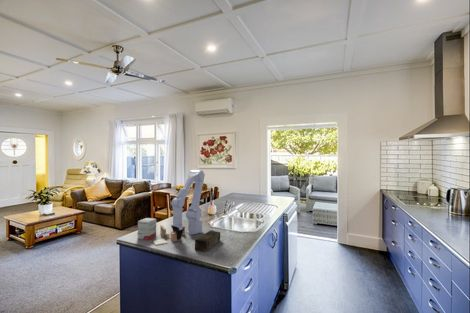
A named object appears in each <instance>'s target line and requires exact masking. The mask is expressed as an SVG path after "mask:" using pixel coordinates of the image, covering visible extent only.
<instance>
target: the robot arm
mask: <svg viewBox="0 0 470 313" xmlns="http://www.w3.org/2000/svg"><path fill="white" fill-rule="evenodd" d="M205 175H206V174H205V172H204V171H203V170H202V169H201V170H198V169H191V170H189V172H188V173H187V176H188V178H187V179H186V181H185V183H184V186H183V187H182V188H181V187H180V189H179V191H178V193H176V194H177V195H176V196H175V197H174V198H173V199H172V200H171V203H170V205H171V207H172V208H171V209H172V223H170V227H171V230H172V232H174V231H176V235H177V240H179V241H181V240H180V239H181V236H182V237H183V235H182V233H183V231H184V228H183V227H182V224H183V207H184V206H185V202H186V198H187V196H188V194H189V189H190V188H191V186H192V184H194V189H193V194H192V200H191V205H190V206H189V207H187V211H186V212H185V217H186V219H187V221H188V230H185V233H188V235H190V236H191V235H196V234H197V235H198V234H202V233H204V232H203V220H202V219H201V217H202V208H201V207H200V201H201V196H202V190H203V184H204V181H205Z"/></svg>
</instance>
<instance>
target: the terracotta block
mask: <svg viewBox="0 0 470 313" xmlns="http://www.w3.org/2000/svg"><path fill="white" fill-rule="evenodd" d="M182 237H183V235H182V236H181V239H180V240H177V235H176V231H174V232H173V231H170V241H171V242H172V243H173V242H177V241H178V242H180V241H182V240H183V238H182Z"/></svg>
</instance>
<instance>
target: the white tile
mask: <svg viewBox="0 0 470 313" xmlns="http://www.w3.org/2000/svg"><path fill="white" fill-rule="evenodd" d="M152 242H153V243H154V246H160V245H161V246H162V245H165V244H168V241H167V240H166V238H165V239H164V238H161V239H155V240H153V241H152Z"/></svg>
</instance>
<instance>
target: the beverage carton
mask: <svg viewBox="0 0 470 313" xmlns="http://www.w3.org/2000/svg"><path fill="white" fill-rule="evenodd" d="M220 241H221V231H215V230H212V229H211V230H208V231H207V232H204V234H202V235H200V236H199V237H197V238H196V239H195V240H194V250H195V251H198V252H199V251H200V252H202V253H203V252H204V253H206V252H207V251H209V250H210V249H212V248H213V247H214V246H215V245H217V244H218V243H219V242H220Z"/></svg>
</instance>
